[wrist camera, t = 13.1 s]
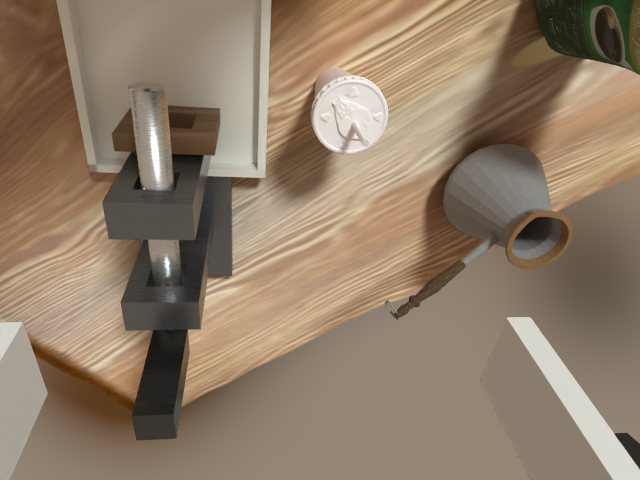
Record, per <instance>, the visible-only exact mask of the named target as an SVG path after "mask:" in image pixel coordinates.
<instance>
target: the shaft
mask: <svg viewBox="0 0 640 480" xmlns="http://www.w3.org/2000/svg"><path fill="white" fill-rule="evenodd" d="M128 89H129V97H130V105H131V112H132V120H133V128H134V136H135V144H136V151H137V159H138V167H139V175H140V183H141V190H163V191H175V188H174V176H173V164H172V153H171V141H170V129H169V117H168V105H167V93H166V86H165V85H163V84H159V83H153V82H139V83H133V84H131V85H129V86H128ZM148 245H149V253H150V261H151V268H152V276H153V284H154V287H183V283H182V271H181V259H180V247H179V240H148ZM189 353H190V352H189V340H188V330H153V334H152V338H151V342H150V346H149V350H148V354H147V358H146V362H145V366H144V369H143V373H142V377H141V381H140V385H139V389H138V393H137V397H136V401H135V405H134V409H133V413H132V420H133V425H134V430H135V435H136V440H153V439H171V438H177V431H178V425H179V418H180V411H181V405H182V399H183V392H184V386H185V379H186V373H187V366H188V360H189Z"/></svg>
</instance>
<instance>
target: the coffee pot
mask: <svg viewBox="0 0 640 480" xmlns="http://www.w3.org/2000/svg"><path fill="white" fill-rule="evenodd" d="M443 204H444V211H445V214H446V216H447V218H448V220H449V222H450V223H451V224H452V225H453V226H454V227H455V228H456V229H457V230H458V231H460V232H462V233H465V234H467V235H469V236H472V237H475V238H478V239H481V240H484V241H483V242H482V243H481V244H479V245H478V246H477V247H476V248H475V249H473V250H472V251H471V252H470V253H469V254H467V255H466V256H465V257H464V258H463V259H461V260H459V261H457V262H456V263H455V264H453V265H452V266H450V267H449V268H447V269H446V270H445V271H443V272H442V273H440V274H439V275H437V276H436V277H435V278H433V279H432V280H430V281H429V282H428V283H427V284H426V285H425V286H424V287H423V288H422V289H421V290H420V291H419V292H418V294H417V295H416V296H410V298H409V302H407V303H406V304H404V305H402V306H401V307H400V308H399V309H398V310H396V309H395V307H394V306H393V305H392V304H391V303H390V302H389V301H386V302H385V304H386V307H387V309H388V310H389V312H390V313H391V314H392V315H393V316H394V317H395V318H396V319H397V320H398V319H399V318H400V317H401V316H403V315H405V314H407V313H408V312H409V310H410V309H411V308H413V307H419V305H420V302H421V301H423V300H424V299H426V298H428V297H429V296H431V295H433V294H435V293H437V292H438V291H439V290H440V289H441V288H442V287H443V286H445V285H446V284H447V283H448V282H449V281H450V280H451V279H452V278H454V277H455V276H456V275H457V274H458V273H459V272H460V271H461V270H463V269H464V268H465V267H466V265H468V264H469V263H470V262H472V261H473V260H474V259H475V258H477V257H478V256H480V255H481V254H482V253H484V252H485V251H486V250H488V249H489V248H490V247H492V246H493V245H494V244H495V245H499V246H501V247H504V248H506V255H507V258H508V259H509V261H510V262H511V263H512V264H513V265H515V266H517V267H520V268H523V269H535V268H539V267H542V266H545V265H547V264H549V263H551V262H553V261H554V260H555V259H557V258H558V257H560V255H562V253H563V252H564V251H565V250H566V249H567V247H568V245H569V244H570V242H571V239H572V236H573V227H572V224H571V221H570V220H569V219H568V218H567V216H565V215H563V214H562V213H559V212H554V211H552V207H551V202H550V197H549V192H548V187H547V183H546V178H545V173H544V170H543V167H542V164H541V162H540V160H539V159H538V158H537V157H536V155H535V154H534V153H533V152H531V151H530V150H528V149H526V148H525V147H523V146H518V145H514V144H495V145H490V146H487V147H483V148H480V149H478V150H477V151H475V152H473V153H471V154H470V155H468V156H467V157H466V158H465V159H463V160H462V161H461V162H460V163H459V164H458V165H457V166H456V168H455V169H454V170H453V172H452V173H451V174H450V176H449V179H448V181H447V183H446V186H445V191H444V198H443ZM387 303H388V304H390V305H391V306H392V308H393V309H394V311H395V315H394V314H393V313H392V311H391V310H390V308H389V307H388V304H387Z"/></svg>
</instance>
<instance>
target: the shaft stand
mask: <svg viewBox="0 0 640 480" xmlns="http://www.w3.org/2000/svg"><path fill="white" fill-rule="evenodd" d="M210 160H211V155H190V154H172V164H173V176H174V188H175V191H163V190H141V183H140V175H139V167H138V159H137V152H131V153H130V154H129V156H128V158H127V160H126V162H125V163H124V165H123V167H122V169H121V170H120V172H119V174H118V176H117V177H116V179H115V181H114V183H113V184H112V186H111V188H110V190H109V191H108V193H107V195H106V197H105V198H104V200H103V202H102V203H103V209H104V214H105V220H106V225H107V231H108V236H109V239H139V241H140V251H139V254H138V256H137V259H136V262H135V265H134V267H133V270H132V273H131V276H130V278H129V281H128V284H127V287H126V289H125V292H124V295H123V298H122V300H121V307H122V313H123V318H124V324H125V329H126V330H188V329H201V322H202V315H203V307H204V300H205V292H206V285H207V277H208V276H232V269H233V268H232V177H221V176H207V175H208V170H209V165H210ZM148 240H179V247H180V259H181V271H182V283H183V287H154V284H153V276H152V268H151V261H150V253H149V245H148Z"/></svg>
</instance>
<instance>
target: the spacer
mask: <svg viewBox="0 0 640 480" xmlns="http://www.w3.org/2000/svg"><path fill="white" fill-rule="evenodd" d="M168 117H169V129H170V141H171V153H172V154H190V155H213V156H215V151H216V145H217V140H218V134H219V128H220V108H204V107H186V106H169V105H168ZM112 140H113V146H114V151H119V152H137V151H136V144H135V136H134V128H133V120H132V112H131V107H130V109H129V110H128V111H127V113H126V114H125V116H124V117H123V118H122V120H121V121H120V123H119V124H118V125H117V127H116V128H115V130H114V131H113V132H112Z"/></svg>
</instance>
